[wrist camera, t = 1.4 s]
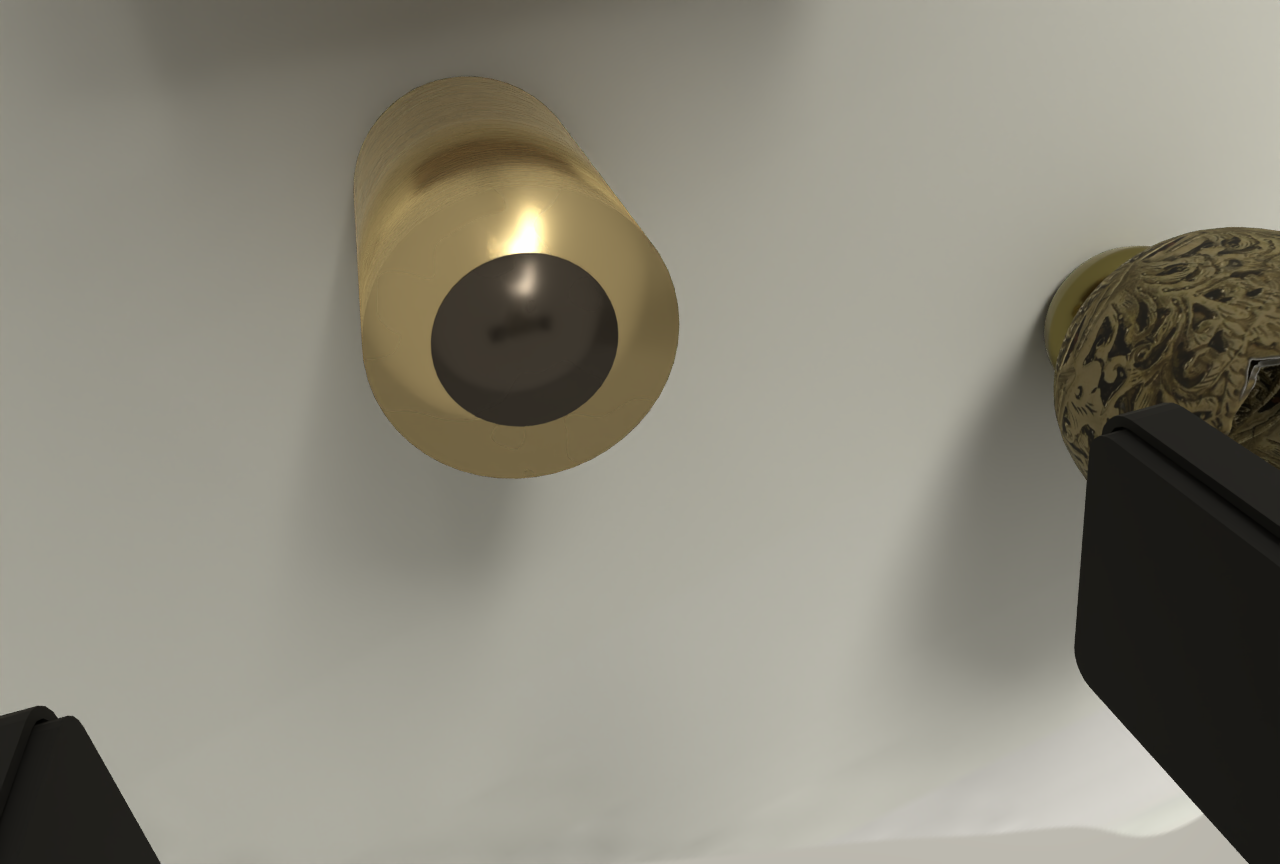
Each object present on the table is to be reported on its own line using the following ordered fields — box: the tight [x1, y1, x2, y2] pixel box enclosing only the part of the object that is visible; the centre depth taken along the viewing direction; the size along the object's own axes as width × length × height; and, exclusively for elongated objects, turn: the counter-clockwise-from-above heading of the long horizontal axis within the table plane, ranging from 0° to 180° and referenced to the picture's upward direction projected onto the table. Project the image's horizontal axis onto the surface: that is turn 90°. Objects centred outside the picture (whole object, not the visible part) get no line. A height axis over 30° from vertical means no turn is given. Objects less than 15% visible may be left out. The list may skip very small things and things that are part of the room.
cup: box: [1044, 227, 1280, 480], centre depth 22 cm, size 8×7×8 cm
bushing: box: [353, 77, 679, 479], centre depth 18 cm, size 4×4×7 cm
